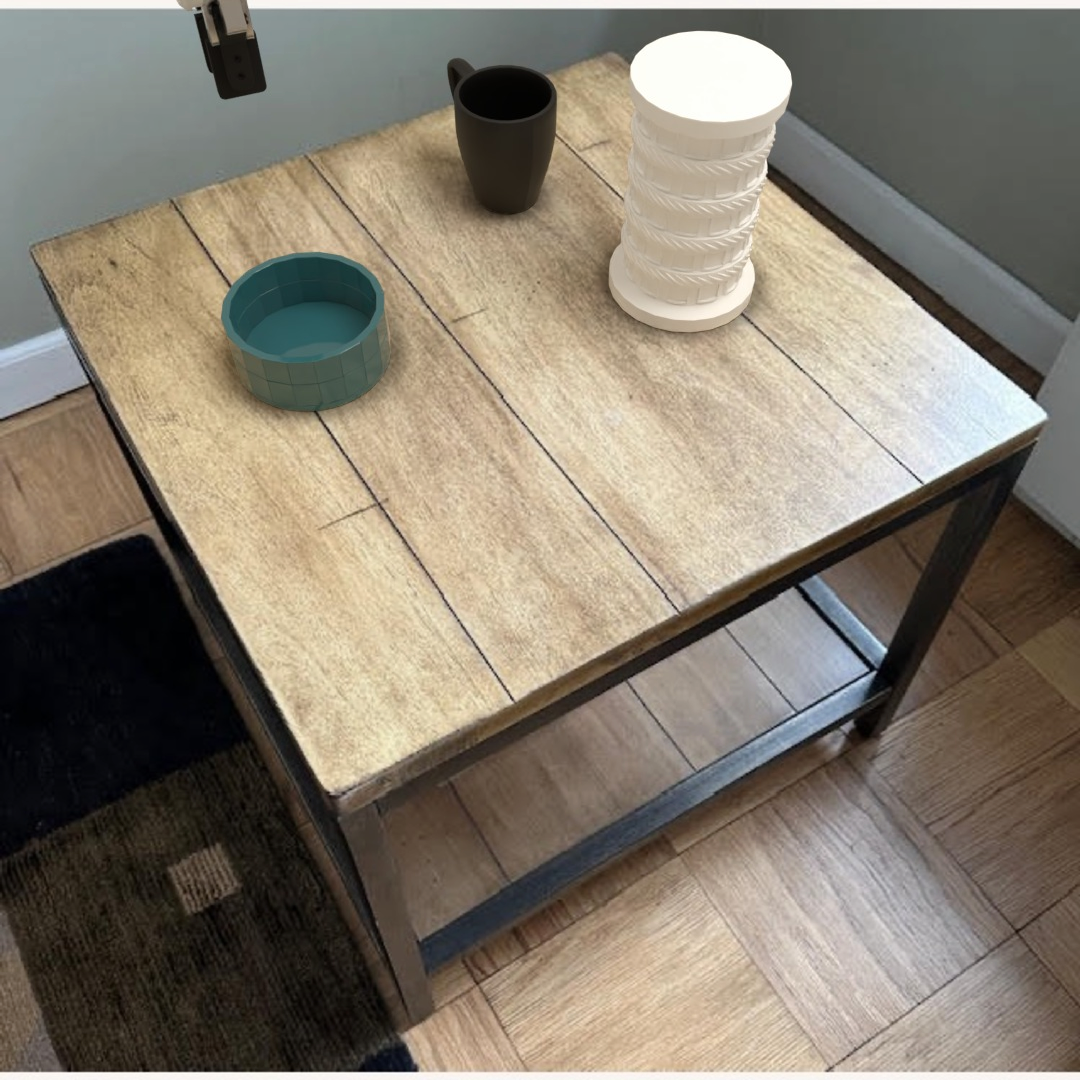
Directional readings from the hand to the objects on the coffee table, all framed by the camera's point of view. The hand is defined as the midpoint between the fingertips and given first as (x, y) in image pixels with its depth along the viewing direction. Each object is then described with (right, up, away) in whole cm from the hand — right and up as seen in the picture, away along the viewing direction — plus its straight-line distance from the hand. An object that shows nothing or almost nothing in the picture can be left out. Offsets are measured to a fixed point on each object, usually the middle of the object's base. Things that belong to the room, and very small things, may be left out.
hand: (237, 78), depth 74 cm
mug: (+17, 0, +22) cm, 27 cm away
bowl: (+3, -17, +9) cm, 20 cm away
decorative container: (+32, -11, +14) cm, 36 cm away
